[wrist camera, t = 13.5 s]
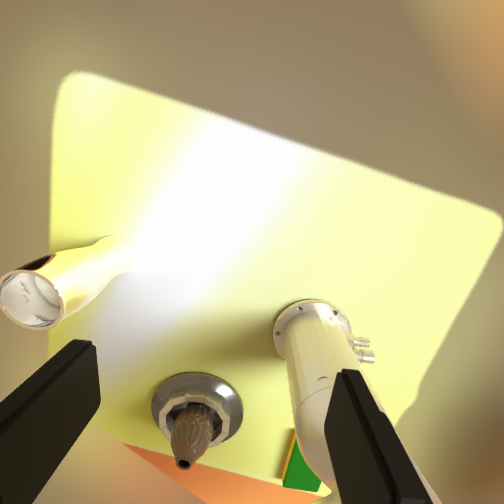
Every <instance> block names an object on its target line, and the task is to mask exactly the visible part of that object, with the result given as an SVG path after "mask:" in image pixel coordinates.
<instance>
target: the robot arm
mask: <svg viewBox="0 0 504 504" xmlns="http://www.w3.org/2000/svg"><path fill="white" fill-rule="evenodd" d="M298 307H299V308H298ZM351 334H352V332H351V326H350V323H349V321H348V319H347V317H346V316H345V314H344V313H343V312H342V311H341V310H340V309H339V308H338V307H336V306H335V305H333V304H331V303H329V302H326V301H323V300H316V299H311V300H303V301H299V302H297V303H294V304H292V305H290V306H289V307H287V308H286V309H285V310H284V311H283V312H282V313H281V314H280V315H279V316H278V318H277V319H276V322H275V324H274V328H273V342H274V346H275V349H276V350H277V352H278V354H279V355H280V356H281V357H282V358H283V359H284V360H285V361H286V368H287V375H288V383H289V390H290V397H291V404H292V412H293V419H294V425H295V432H296V438H297V443H298V446H299V449H300V452H301V454H302V456H303V458H304V460H305V462H306V463H307V465H308V466H309V467H310V469H311V470H312V471H313V473H314V474H315V475H316V476H317V477H318V478H319V479H320V480H321V481H322V482H323V483H324V484H325V485H326V486H327V487H328V488H330V489H331V490H332V492H331V494H329V495H328V496H326V497H324V498H321V499H319V500H316V501H314V502H313V503H311V504H442V503H441V502H440V500H439V499H438V497H437V496H436V494H435V493H434V491H433V490H432V488H431V487H430V486H429V484H428V483H427V481H426V479H425V478H424V476H423V475H422V473H421V472H420V470H419V469H418V467H417V466H416V464H415V462H414V461H413V459H412V458H411V456H410V454H409V452H408V451H407V449H406V447H405V446H404V444H403V442H402V440H401V438H400V437H399V435H398V433H397V432H396V430H395V428H394V426H393V424H392V423H391V421H390V419H389V417H388V415H387V413H386V412H385V410H384V408H383V406H382V404H381V402H380V400H379V399H378V397H377V395H376V393H375V391H374V389H373V387H372V385H371V383H370V382H369V380H368V378H367V376H366V374H365V372H364V370H363V368H362V367H361V365H360V363H359V362H361V363H369V364H373V363H374V360H375V357H374V353H373V351H370V350H356V349H353V347H354V346H360V347H369V346H370V340H369V339H368V338H363V337H354V336H353V335H351ZM100 401H101V397H100V386H99V376H98V365H97V355H96V347H95V346H94V345H92V342H91V341H86V340H77V339H74V340H72V341H70V342H69V343H68V344H67V345H66V346H65V347H64V348H62V349H61V350H60V351H59V352H58V353H57V354H56V355H54V356H53V357H52V358H51V359H50V360H49V361H47V362H46V363H45V364H44V365H43V366H42V367H41V368H39V369H38V370H37V371H36V372H35V373H34V374H33V375H31V376H30V377H29V378H28V379H27V380H26V381H25V382H23V383H22V384H21V385H20V386H19V387H18V388H16V389H15V390H14V391H13V392H12V393H11V394H10V395H8V396H7V397H6V398H5V399H4V400H3V401H2V402H0V504H32V503H33V502H34V500H35V499H36V497H37V496H38V494H39V493H40V492H41V490H42V489H43V487H44V486H45V484H46V483H47V481H48V480H49V479H50V477H51V476H52V474H53V473H54V471H55V470H56V468H57V467H58V466H59V464H60V463H61V461H62V460H63V458H64V457H65V455H66V454H67V453H68V451H69V450H70V448H71V447H72V446H73V444H74V443H75V441H76V440H77V438H78V437H79V436H80V434H81V433H82V431H83V430H84V428H85V427H86V425H87V424H88V423H89V421H90V420H91V418H92V417H93V415H94V414H95V413H96V411H97V409H98V408H99V405H100Z"/></svg>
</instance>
